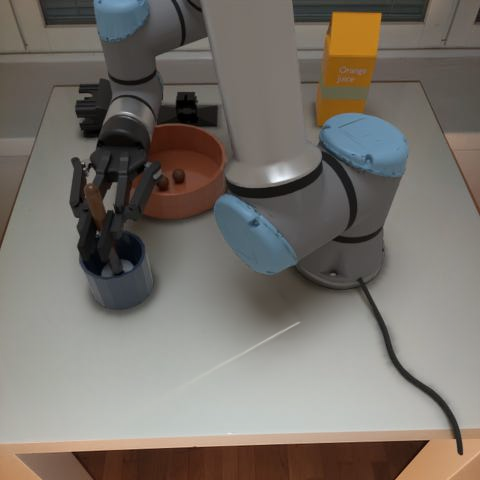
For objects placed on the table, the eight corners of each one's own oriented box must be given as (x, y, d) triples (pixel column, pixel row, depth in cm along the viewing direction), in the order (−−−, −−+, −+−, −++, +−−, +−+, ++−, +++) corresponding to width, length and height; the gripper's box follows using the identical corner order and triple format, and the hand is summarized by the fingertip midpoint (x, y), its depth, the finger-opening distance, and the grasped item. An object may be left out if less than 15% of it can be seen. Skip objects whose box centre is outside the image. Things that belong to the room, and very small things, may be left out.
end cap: (118, 137, 95) (111, 106, 89) (83, 139, 95) (73, 107, 89) (122, 108, 101) (115, 77, 95) (88, 109, 100) (79, 78, 95)
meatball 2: (185, 179, 85) (184, 184, 87) (186, 167, 85) (185, 172, 88) (172, 178, 85) (171, 183, 87) (172, 165, 85) (172, 170, 87)
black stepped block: (156, 127, 97) (152, 106, 93) (159, 106, 101) (156, 85, 97) (216, 126, 97) (215, 105, 93) (217, 105, 101) (216, 84, 97)
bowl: (245, 195, 86) (246, 169, 81) (150, 236, 81) (145, 210, 76) (194, 139, 95) (192, 111, 90) (105, 172, 89) (98, 145, 84)
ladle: (143, 287, 74) (117, 189, 57) (113, 301, 72) (77, 204, 56) (129, 266, 76) (100, 166, 59) (100, 279, 75) (62, 180, 58)
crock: (163, 295, 74) (156, 261, 67) (107, 321, 71) (94, 289, 65) (137, 255, 78) (128, 220, 72) (83, 279, 76) (69, 245, 69)
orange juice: (360, 127, 98) (385, 23, 81) (317, 126, 98) (333, 22, 81) (355, 104, 102) (379, 1, 85) (314, 103, 102) (330, 0, 85)
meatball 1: (162, 189, 84) (173, 184, 85) (155, 176, 83) (167, 172, 84) (157, 192, 86) (168, 187, 87) (151, 179, 85) (162, 175, 86)
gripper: (177, 159, 76) (155, 275, 63) (85, 155, 76) (44, 270, 63) (172, 116, 69) (146, 236, 57) (71, 112, 70) (23, 230, 57)
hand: (92, 254), depth 60 cm, fingers closed on ladle, 2 cm apart
